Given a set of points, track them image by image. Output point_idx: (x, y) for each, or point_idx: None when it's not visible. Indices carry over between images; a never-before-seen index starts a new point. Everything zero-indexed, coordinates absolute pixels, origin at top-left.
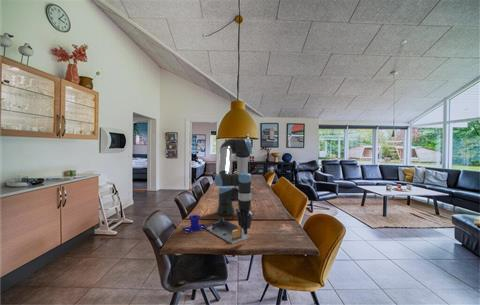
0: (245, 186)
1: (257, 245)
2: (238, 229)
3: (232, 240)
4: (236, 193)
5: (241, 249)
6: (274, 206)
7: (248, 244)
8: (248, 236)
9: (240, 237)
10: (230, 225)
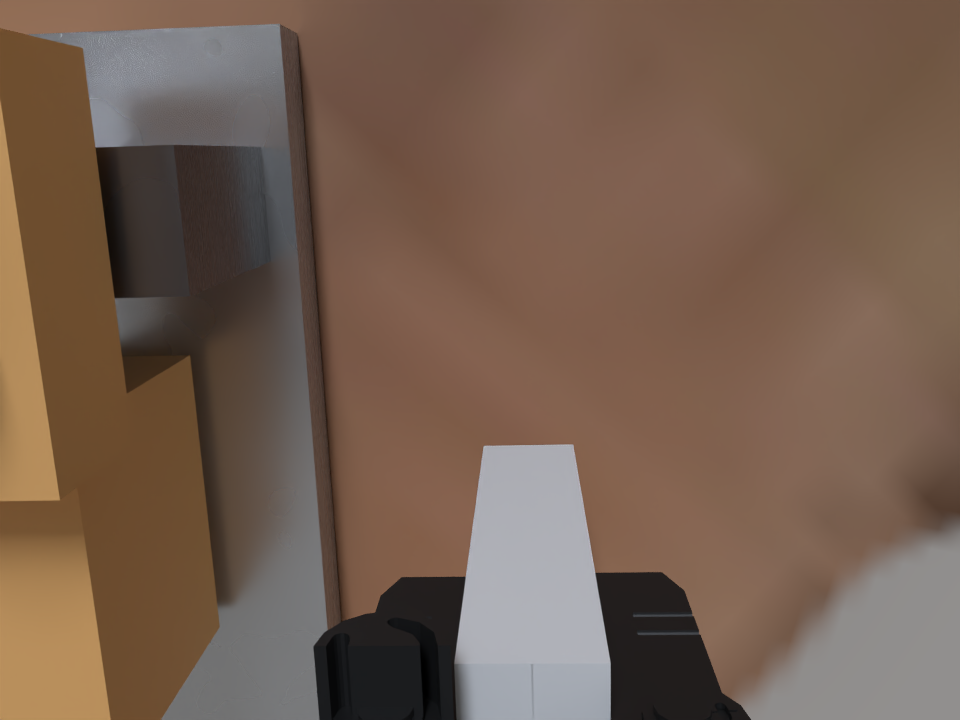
0: None
1: (887, 230)
2: (26, 512)
3: (254, 688)
4: None
5: None
6: None
7: (651, 396)
8: (291, 69)
9: (229, 381)
10: None
